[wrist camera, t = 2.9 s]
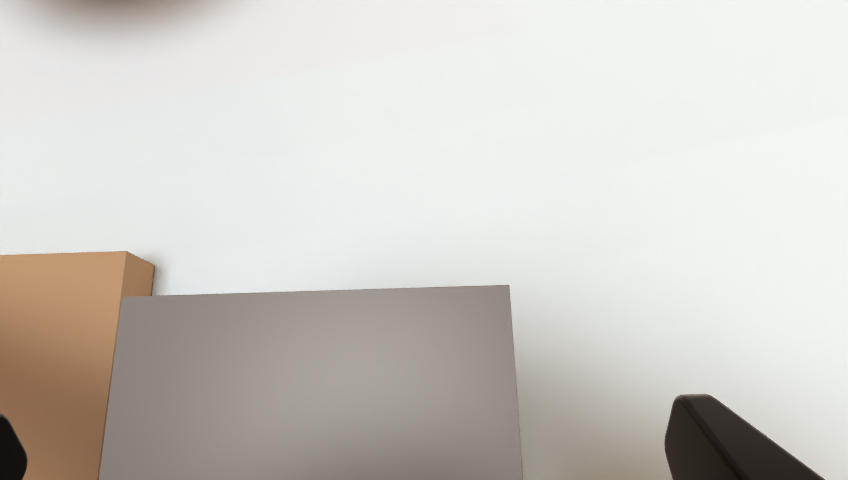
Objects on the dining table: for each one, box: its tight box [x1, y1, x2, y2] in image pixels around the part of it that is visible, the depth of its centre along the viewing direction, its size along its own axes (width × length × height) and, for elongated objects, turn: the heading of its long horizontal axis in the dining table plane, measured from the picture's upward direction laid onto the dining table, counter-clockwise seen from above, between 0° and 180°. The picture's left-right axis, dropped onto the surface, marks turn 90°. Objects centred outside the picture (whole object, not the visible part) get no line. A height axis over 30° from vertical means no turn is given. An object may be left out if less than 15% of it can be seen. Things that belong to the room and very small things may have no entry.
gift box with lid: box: [99, 285, 523, 480], centre depth 10 cm, size 5×5×9 cm
